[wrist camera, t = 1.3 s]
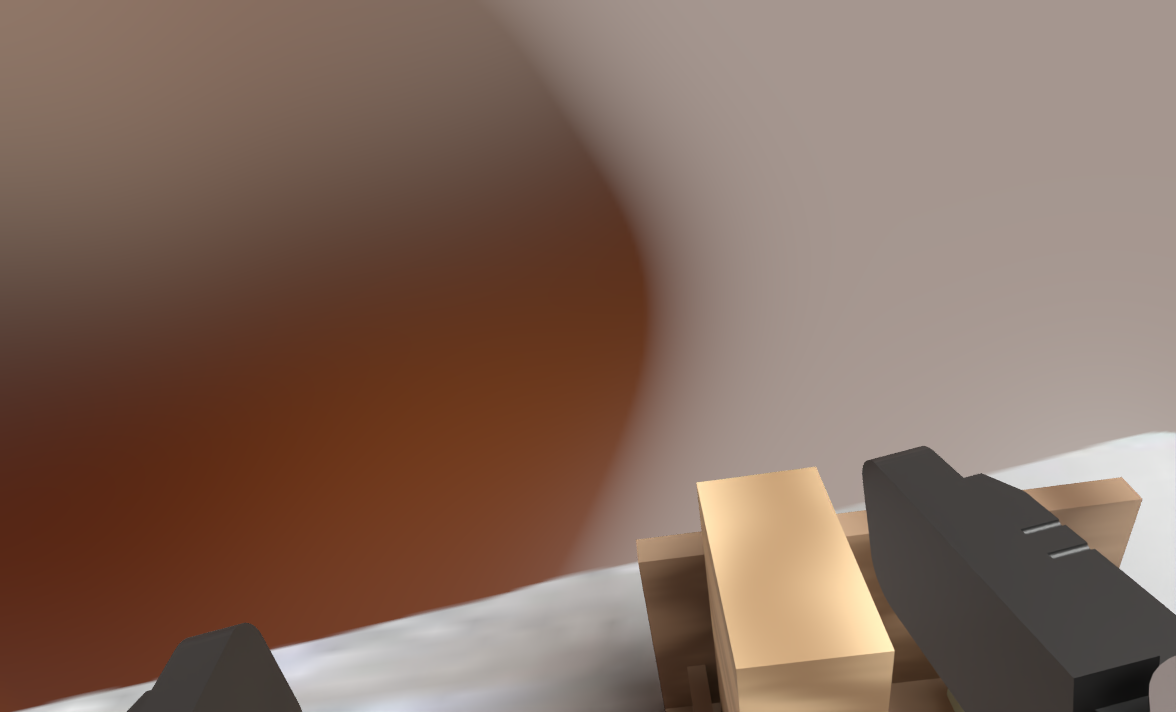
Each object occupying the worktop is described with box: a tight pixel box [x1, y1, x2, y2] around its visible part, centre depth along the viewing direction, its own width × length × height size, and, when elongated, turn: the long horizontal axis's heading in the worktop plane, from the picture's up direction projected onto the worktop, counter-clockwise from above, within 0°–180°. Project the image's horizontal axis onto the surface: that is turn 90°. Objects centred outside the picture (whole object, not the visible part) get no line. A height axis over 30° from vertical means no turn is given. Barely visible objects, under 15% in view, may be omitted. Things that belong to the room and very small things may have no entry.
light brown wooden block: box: [697, 467, 895, 712], centre depth 25 cm, size 4×7×15 cm, turn 1°
